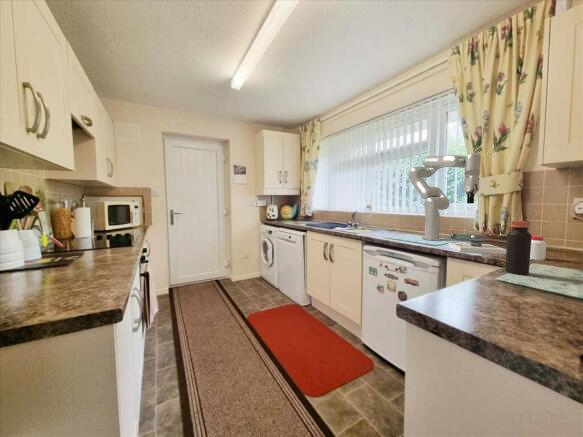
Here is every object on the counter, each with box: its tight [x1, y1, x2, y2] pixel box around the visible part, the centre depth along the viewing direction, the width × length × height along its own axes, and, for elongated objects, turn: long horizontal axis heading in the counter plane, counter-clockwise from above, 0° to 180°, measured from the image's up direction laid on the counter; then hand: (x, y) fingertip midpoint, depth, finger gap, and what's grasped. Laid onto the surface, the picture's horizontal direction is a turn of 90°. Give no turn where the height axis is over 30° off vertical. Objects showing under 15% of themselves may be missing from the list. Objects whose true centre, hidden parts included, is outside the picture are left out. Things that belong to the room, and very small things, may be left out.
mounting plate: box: [448, 242, 507, 255], centre depth 139 cm, size 17×22×3 cm
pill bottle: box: [530, 235, 547, 261], centre depth 118 cm, size 8×8×11 cm
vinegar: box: [504, 220, 533, 276], centre depth 93 cm, size 7×7×20 cm
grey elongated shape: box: [450, 233, 486, 246], centre depth 139 cm, size 17×8×6 cm, turn 79°
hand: (470, 203), depth 151 cm, fingers closed
